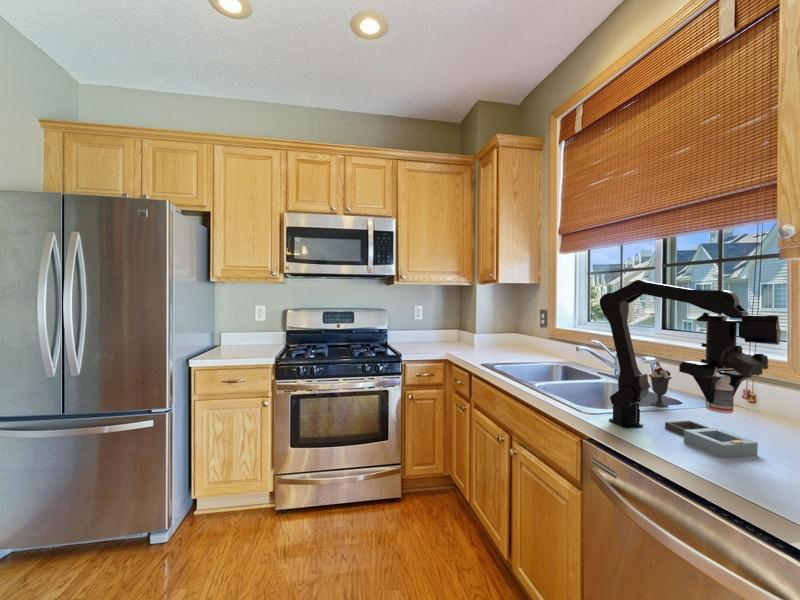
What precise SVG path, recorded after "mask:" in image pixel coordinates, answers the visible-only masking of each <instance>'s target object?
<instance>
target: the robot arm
mask: <svg viewBox="0 0 800 600" xmlns="http://www.w3.org/2000/svg"><path fill="white" fill-rule="evenodd" d="M643 295H646V296H650V297H656V298H662V299H665V300H666V299H667V300H672V301H677V302H680V303H687V304H690V305H692V306H694V307H698V308H699V309H702V310H706V311H705V312H703V313H702V315H700V316H698V317H697V318H696V322H706V334H705V338H706V339H705V341H706V342H701V347H702V348H705V358H704V357H703V358H701V360H700V361H697V360H687V361H686V360H684V361H681V362H680V363H679V366H678V369H679V370H678V371H679V372H678V373H684V374H686V375H689V376H692V377H693V379H694V381H695V382H696V384H697V385H698V387H699V388H700V391H701V392H702V394H703V396H704V398H705V401H706V400H707V401H708V402H710V403H713V400H714V393H715V384H716V382H717V381H718V380H720V379H721V377H716V374H717V372H718V373H719V374H720V375H726V376H730V383H729V385H731V386H732V387H733V388H734V396H735V394H736V392H737V391H738V388H739V387H740V385H741V384H742V382H743V381H745V380H748V379H751V378H752V377H753V376H760V375H763V370H768V369H769V361H768V359H769V358H768V355H765V354H763V353H755V354H753V355H752V354H746V353H744V352H743V347H742V345H739V344H737V332H738V337H739V338H740V339H743V341H744V342H745V343H753V344H764V345H773V346H774V345H775V346H777V345H780V342H781V331H782V328H780V327H781V326H780V319H779V318H780V317H779V315H778V314H777V315H776V314H770V315H769V314H768V315H759V314H758V315H756V314H749V312H748V311H747V310H746V309H744V307H742V305H740V298H739V297H738V295H737V294H736V293H735V292H733V291H730V290H719V289H718V290H717V289H692V288H687V287H681V286H675V285H669V284H663V283H658V282H653V281H652V282H651V281H648V280H645V279H644V280H643V279H637V280H633V281H632V282H631V283H628V284H627V285H626V286H623V287H621V288H619V289H617V290H615V291H614V292H607V293H605V294H603V295H602V296H601V297H600V298H599V303H598V304H599V306H600V309H601V311H602V314H603V316H604V317H605V318H606V320H607V321H608V323H609V325H610V329H611V330H610V331H611V335H612V339H613V343H614V348H615V353H616V357H617V362H618V366H619V375H618V380H617V382H618V383H617V385H618V386H617V387H618V389H617V391H616V392H614V393H613V394H611V395H610V396H609V399H610V402H611V404H612V418H608V421H610V422H611V423H614V424H616V425H618V426H620V427H623V428H624V429H626V428H638V427H641V428H642V427H644V424H643V423H641V418H640V417H641V408H640V404H639V403H641V401H642V399H644V398H646V397H647V395H648V394H649V392H650V388H652V385H650V383H649V374H648V373H642V372H641V370H640V369H639V368H638V364H637V360H636V354H635V351H634V350H635V349H634V346H633V345H634V344H633V341H632V337H631V333H630V328H629V323H628V317H629V313H630V308H629V307H630V306H629V304H631V303H633V302H634V301H636V300H637V299H639V298H640V297H641V296H643ZM710 312H711V313H714V315H713V314H710ZM715 314H718V315H715ZM720 314H723V315H720ZM727 317H729V318H730V319H727ZM736 319H740V320H736ZM737 326H738V327H737ZM737 328H738V331H737Z"/></svg>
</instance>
